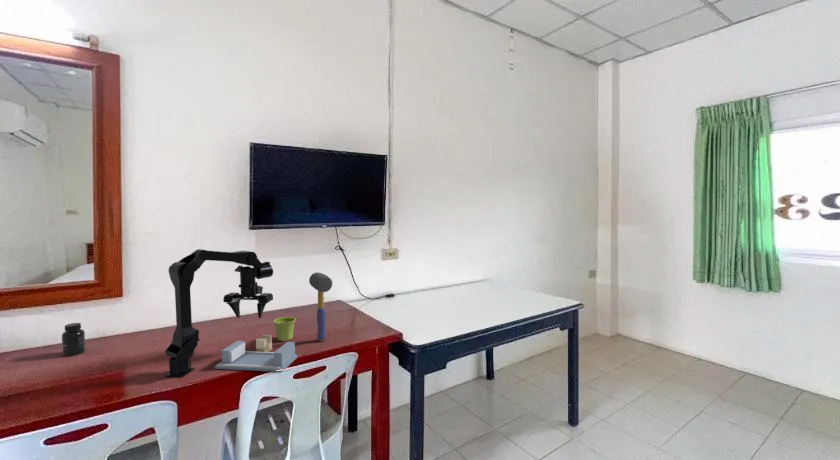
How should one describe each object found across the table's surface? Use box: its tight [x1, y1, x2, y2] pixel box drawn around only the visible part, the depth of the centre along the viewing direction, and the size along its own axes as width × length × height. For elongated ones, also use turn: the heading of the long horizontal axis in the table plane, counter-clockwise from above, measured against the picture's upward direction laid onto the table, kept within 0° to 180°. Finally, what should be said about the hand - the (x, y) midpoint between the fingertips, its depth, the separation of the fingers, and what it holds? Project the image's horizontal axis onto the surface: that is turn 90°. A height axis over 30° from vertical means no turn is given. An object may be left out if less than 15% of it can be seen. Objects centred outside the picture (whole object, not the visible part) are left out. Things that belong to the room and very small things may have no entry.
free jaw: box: [221, 340, 247, 364], centre depth 143 cm, size 10×4×5 cm, turn 174°
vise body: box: [214, 341, 298, 372], centre depth 142 cm, size 13×26×6 cm, turn 84°
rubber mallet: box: [308, 272, 333, 342], centre depth 165 cm, size 12×8×30 cm, turn 33°
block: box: [255, 334, 273, 352], centre depth 153 cm, size 6×4×6 cm, turn 174°
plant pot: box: [273, 316, 297, 342], centre depth 167 cm, size 9×9×9 cm
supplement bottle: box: [61, 322, 86, 357], centre depth 151 cm, size 7×7×12 cm
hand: (249, 317), depth 156 cm, fingers open, 9 cm apart
